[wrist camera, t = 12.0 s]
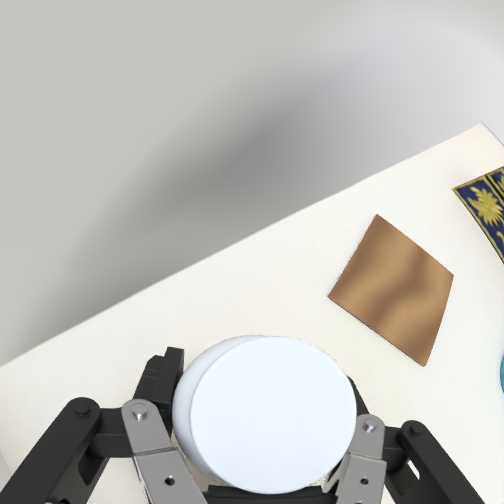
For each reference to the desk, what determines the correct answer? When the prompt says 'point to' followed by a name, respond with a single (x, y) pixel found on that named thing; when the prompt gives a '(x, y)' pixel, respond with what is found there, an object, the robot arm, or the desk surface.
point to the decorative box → (487, 205)
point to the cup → (502, 374)
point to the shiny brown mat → (395, 289)
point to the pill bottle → (264, 413)
